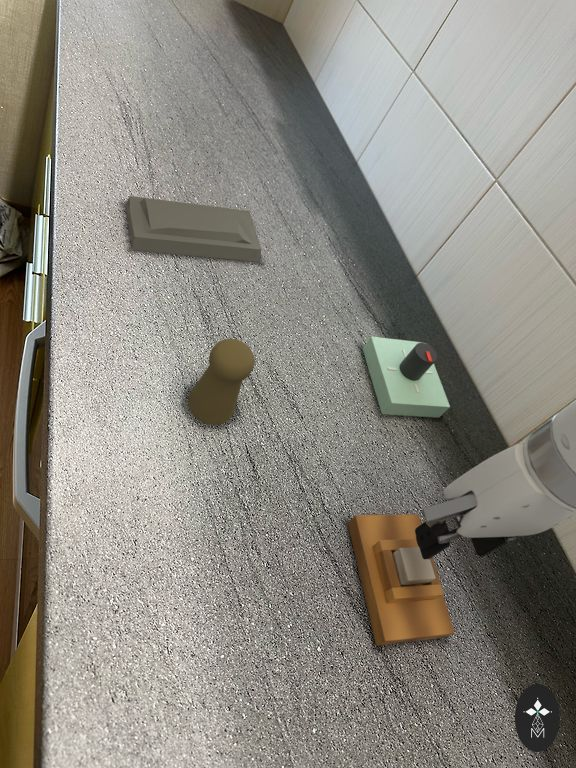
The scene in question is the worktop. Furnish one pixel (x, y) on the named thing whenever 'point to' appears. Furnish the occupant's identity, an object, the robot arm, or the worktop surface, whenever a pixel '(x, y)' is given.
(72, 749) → the worktop surface
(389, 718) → the worktop surface
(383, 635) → the light switch
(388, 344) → the volume panel
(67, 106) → the worktop surface
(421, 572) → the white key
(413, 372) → the volume knob
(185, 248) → the grey bevelled block
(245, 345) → the brown pawn
